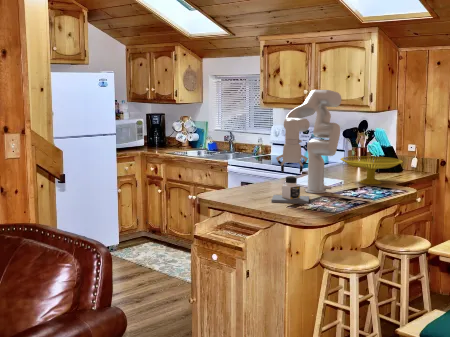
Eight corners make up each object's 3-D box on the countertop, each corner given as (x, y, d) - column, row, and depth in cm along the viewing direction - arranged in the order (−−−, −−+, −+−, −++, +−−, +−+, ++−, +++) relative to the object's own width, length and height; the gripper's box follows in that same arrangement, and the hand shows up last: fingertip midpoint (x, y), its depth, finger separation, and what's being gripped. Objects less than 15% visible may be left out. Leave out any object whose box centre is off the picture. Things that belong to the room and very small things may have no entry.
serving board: (309, 198, 335) (309, 196, 335) (308, 203, 321) (308, 201, 321) (273, 197, 338) (273, 194, 338) (271, 202, 325) (271, 199, 325)
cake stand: (396, 190, 364) (397, 165, 362) (332, 184, 382) (332, 161, 379) (407, 180, 400) (408, 158, 398) (347, 175, 418) (348, 154, 415)
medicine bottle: (290, 199, 325) (290, 177, 323) (281, 197, 331) (282, 176, 329) (299, 198, 329) (300, 176, 327) (291, 196, 335) (291, 175, 333)
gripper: (308, 141, 327) (307, 172, 330) (276, 140, 330) (276, 171, 333) (307, 143, 320) (307, 174, 323) (275, 142, 323) (275, 173, 326)
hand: (291, 172), depth 328 cm, fingers open, 9 cm apart
